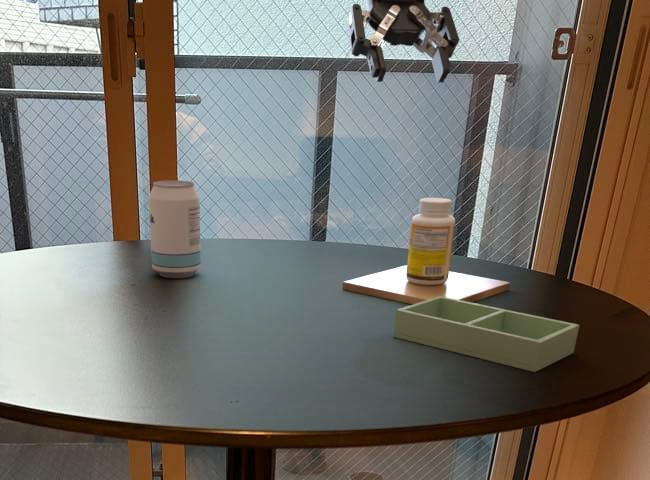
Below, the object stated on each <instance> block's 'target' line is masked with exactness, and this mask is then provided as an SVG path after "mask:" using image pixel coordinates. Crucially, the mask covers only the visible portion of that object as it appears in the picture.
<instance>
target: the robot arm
mask: <svg viewBox="0 0 650 480" xmlns="http://www.w3.org/2000/svg"><path fill="white" fill-rule="evenodd" d="M365 6H366V10H364V9H362V6H361V5H360V4H358V3H354V4H352V7H351V9H350V13H349V16H348V19H347V23H346V25H347V31H348V37H349V45H350V53H351V55H353V56H354V57H359V56H360V55H361V56H364V57H365V59H366V60H367V64H368V68H369V72H370V76H371V77H372V78H374V80H375V82H376V83H383V80H384V78H385V76H386V73H387V65H386V60H385V56H384V51H383V47H384V46H385V44H386V43H387V44H389V46H391V47H392V46H394V47H395V46H400V45H402V46H407V47H414V48H415V49H416V50H417V51H419V53H420V54H424V53H425V54H426V55H427V56H429V57H430V58H431V59H432V61H431V64H432V68H433V72H434V76H435V77H434V78H435V81H436V83H437V84H443V83H444V82H445V80H446V79H447V77H448V75H449V73H450V71H451V67H452V66H451V62H450V59H451V58H452V57H453V55H454V52H455V49H456V47H458V44H459V42H460V37H459V34H458V31H457V28H456V25H455V21H454V18H453V15H452V12H451V9H450V8H449V7H448V6H446V5H445V6H442V7H441V9H440V11H437V12H435V11H433V12H431V11H430V10H429V8H428V7H427V6H426V3H425V0H365ZM366 24H368V26H369V28H370V29H372V30H373V31H374V34H373V35H372V37H371V38H370V39H369V38H366V31H365V26H366ZM423 33H425V35H424V37H423V39H421V37H422V35H423ZM433 44H434V45H435V46H434V45H433Z"/></svg>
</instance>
